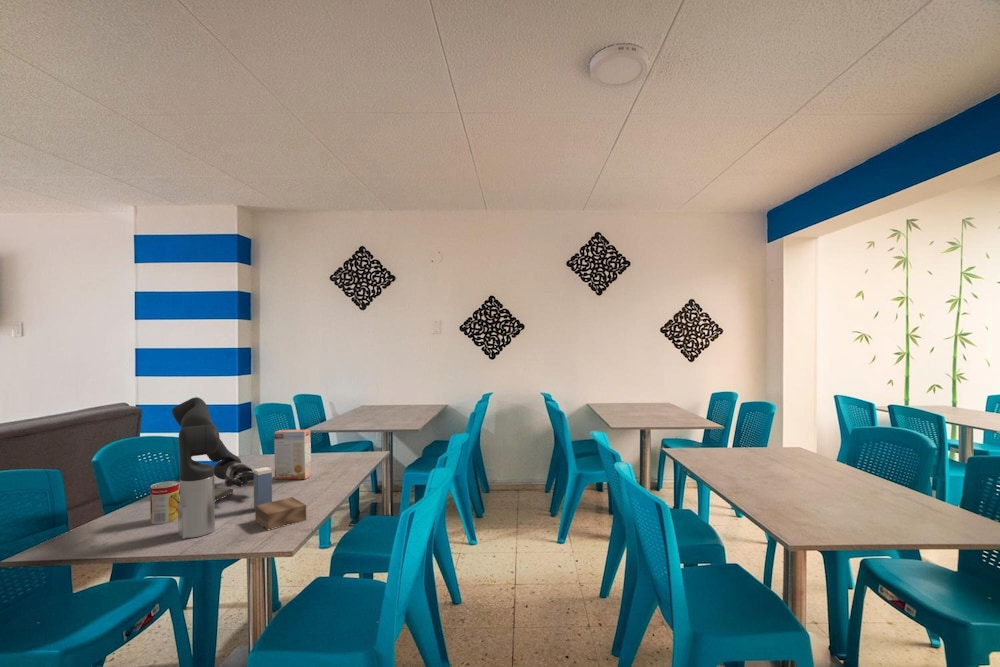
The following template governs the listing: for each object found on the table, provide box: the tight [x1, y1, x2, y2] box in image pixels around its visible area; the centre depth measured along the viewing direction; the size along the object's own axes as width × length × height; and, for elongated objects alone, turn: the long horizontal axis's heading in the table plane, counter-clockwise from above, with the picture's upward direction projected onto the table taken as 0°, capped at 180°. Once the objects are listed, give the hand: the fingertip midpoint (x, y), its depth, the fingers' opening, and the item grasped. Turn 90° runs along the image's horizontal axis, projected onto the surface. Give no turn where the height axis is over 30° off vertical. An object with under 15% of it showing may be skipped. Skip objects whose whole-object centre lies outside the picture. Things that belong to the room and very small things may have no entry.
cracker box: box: [273, 429, 312, 480], centre depth 210 cm, size 14×6×21 cm, turn 84°
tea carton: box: [253, 466, 273, 509], centre depth 171 cm, size 5×5×14 cm
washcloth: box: [179, 487, 234, 503], centre depth 182 cm, size 12×18×3 cm, turn 174°
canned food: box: [149, 480, 180, 525], centre depth 162 cm, size 8×8×12 cm
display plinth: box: [254, 497, 307, 530], centre depth 159 cm, size 12×12×5 cm
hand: (252, 481), depth 179 cm, fingers open, 8 cm apart
